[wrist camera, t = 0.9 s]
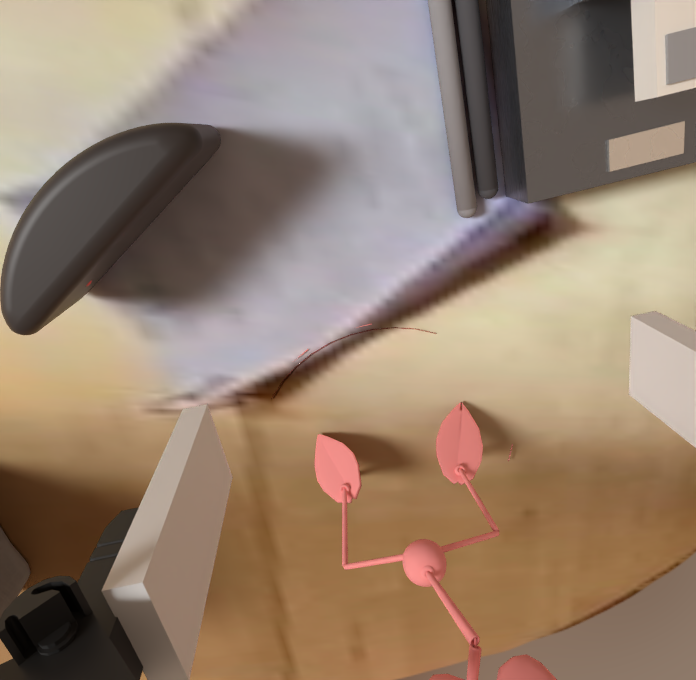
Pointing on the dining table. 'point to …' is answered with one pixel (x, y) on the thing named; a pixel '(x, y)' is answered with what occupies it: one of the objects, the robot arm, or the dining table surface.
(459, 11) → the rods
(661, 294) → the dining table surface
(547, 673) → the figurine
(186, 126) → the black rounded flat block
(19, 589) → the flask
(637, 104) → the lever switch plate
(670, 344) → the robot arm
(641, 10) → the rocker
